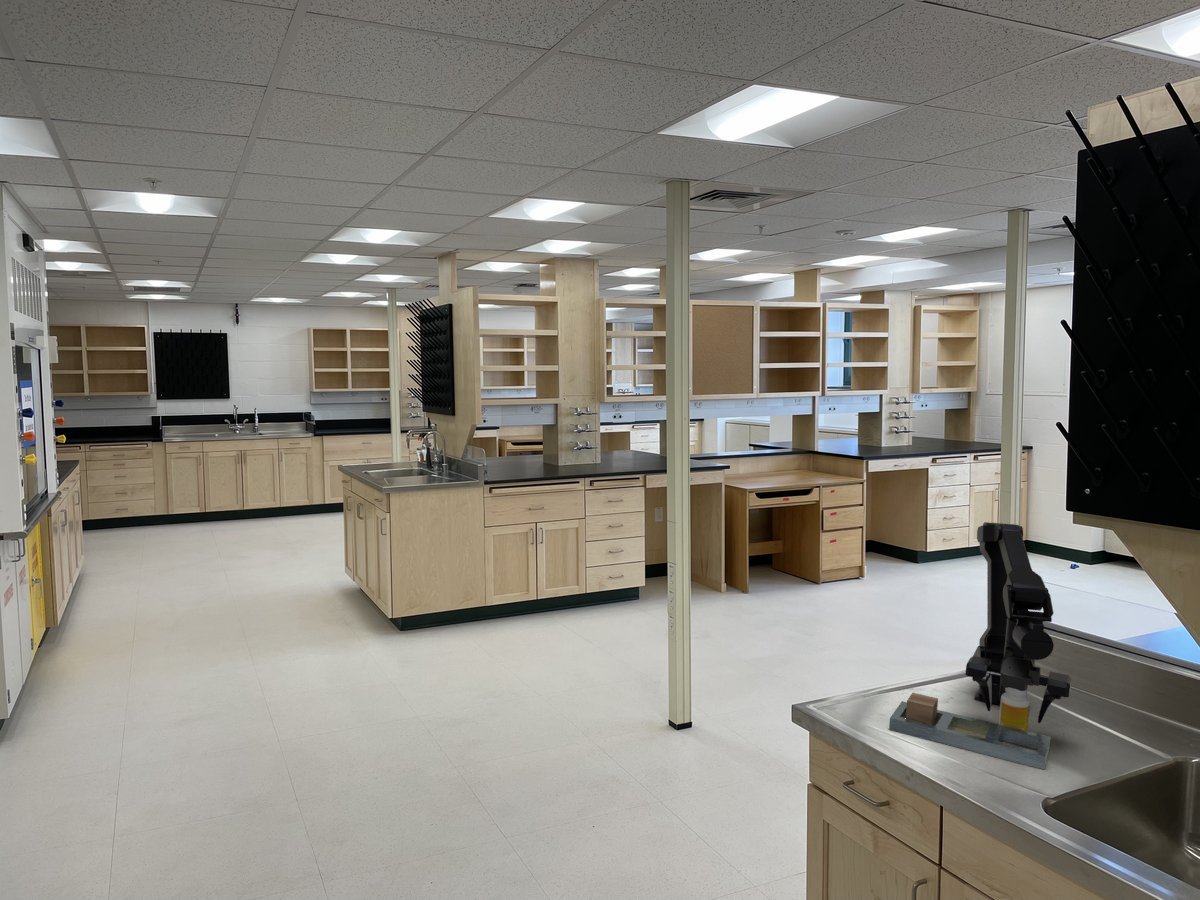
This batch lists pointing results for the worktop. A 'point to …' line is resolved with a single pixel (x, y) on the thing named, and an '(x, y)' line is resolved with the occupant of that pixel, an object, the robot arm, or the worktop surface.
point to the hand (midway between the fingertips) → (1013, 716)
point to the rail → (976, 736)
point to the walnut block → (922, 709)
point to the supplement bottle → (1014, 709)
